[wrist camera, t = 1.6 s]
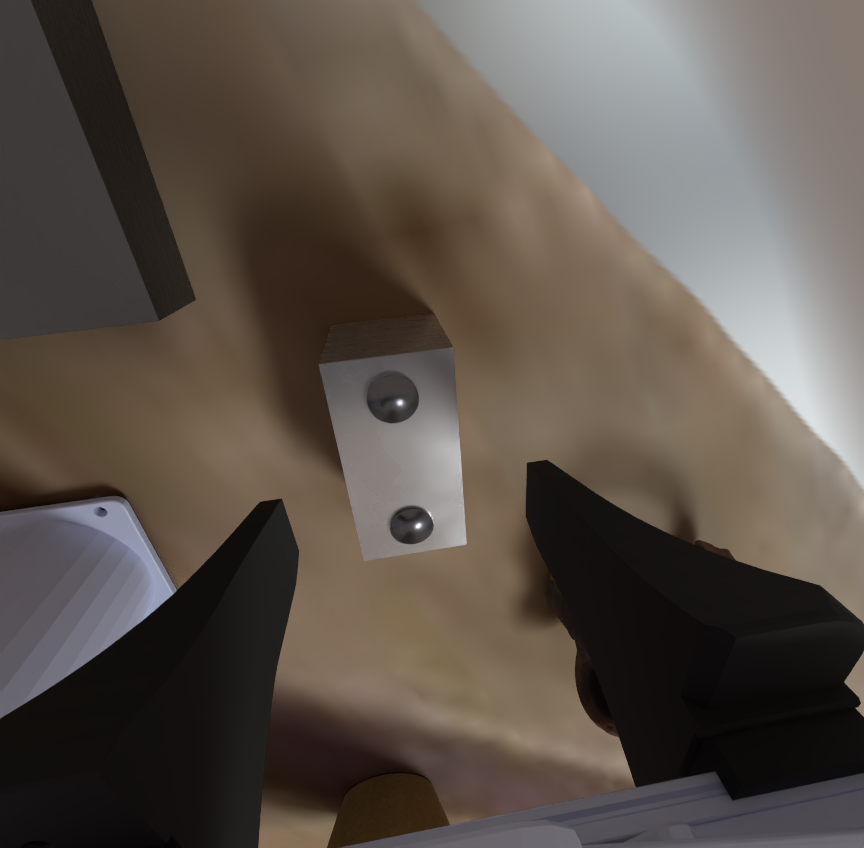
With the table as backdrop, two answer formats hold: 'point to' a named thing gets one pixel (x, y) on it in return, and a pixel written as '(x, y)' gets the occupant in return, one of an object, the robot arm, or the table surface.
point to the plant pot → (387, 810)
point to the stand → (75, 184)
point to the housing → (397, 432)
